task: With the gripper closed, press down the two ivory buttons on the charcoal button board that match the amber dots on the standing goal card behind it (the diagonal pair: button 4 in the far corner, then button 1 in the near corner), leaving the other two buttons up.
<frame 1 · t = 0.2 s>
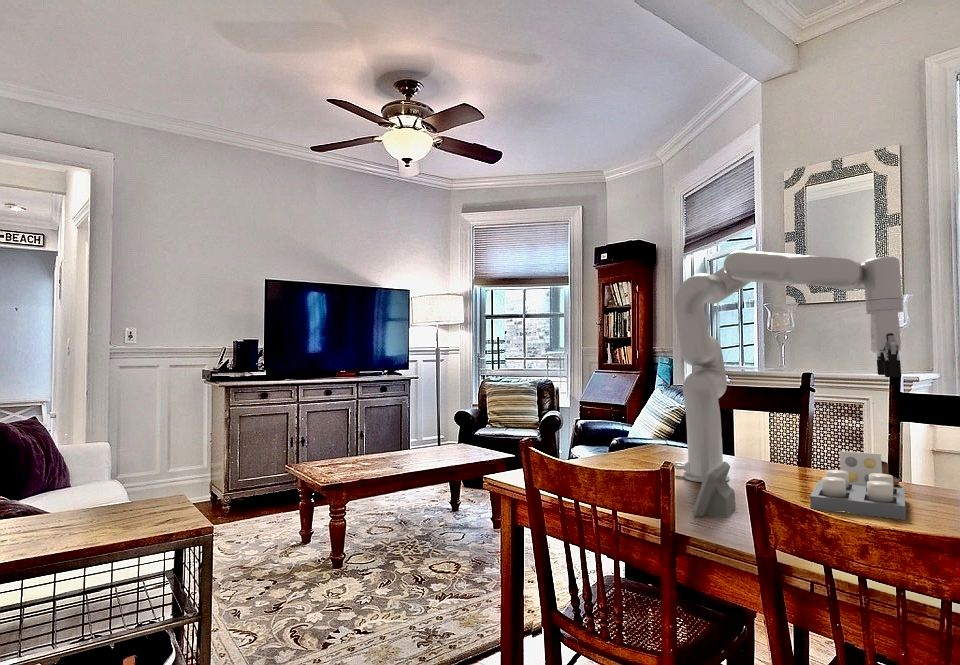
hand: (889, 375, 142), 30 cm above the table, tool pointing down, fingers open, 9 cm apart
button board: (858, 504, 137), on the table
button 4: (881, 482, 138), point 5 cm above the table, slide at 0.0 cm
cup and saucer: (872, 485, 155), on the table
button 3: (879, 491, 131), point 5 cm above the table, slide at 0.0 cm
goal card: (861, 491, 148), on the table
button 2: (837, 478, 143), point 5 cm above the table, slide at 0.0 cm
button 1: (833, 486, 136), point 5 cm above the table, slide at 0.0 cm
grey slanted panel stand: (712, 511, 137), on the table
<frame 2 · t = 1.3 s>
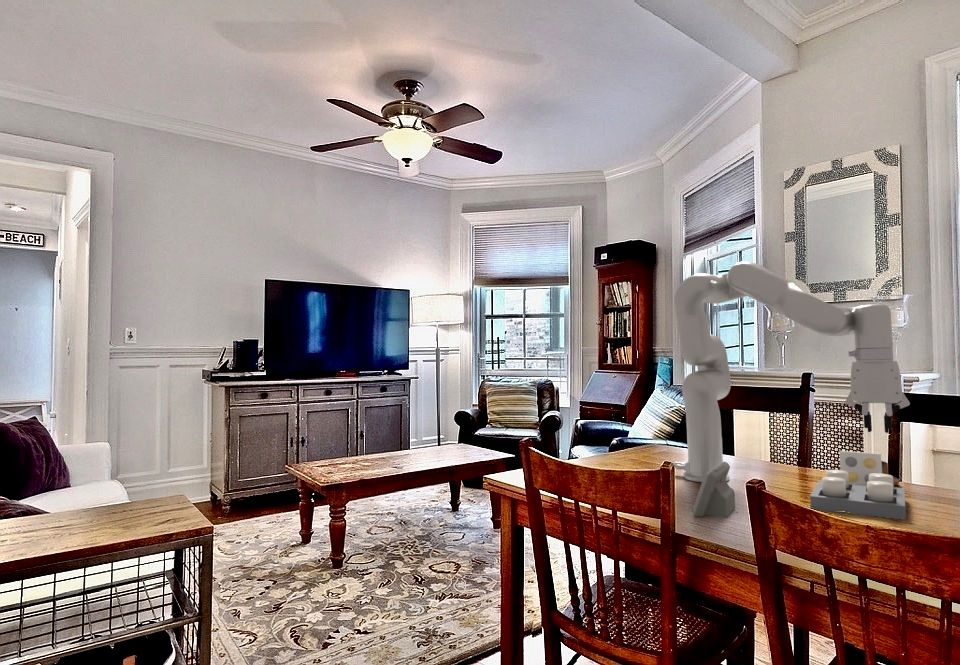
hand: (878, 431, 138), 17 cm above the table, tool pointing down, fingers closed
nothing on the table moved.
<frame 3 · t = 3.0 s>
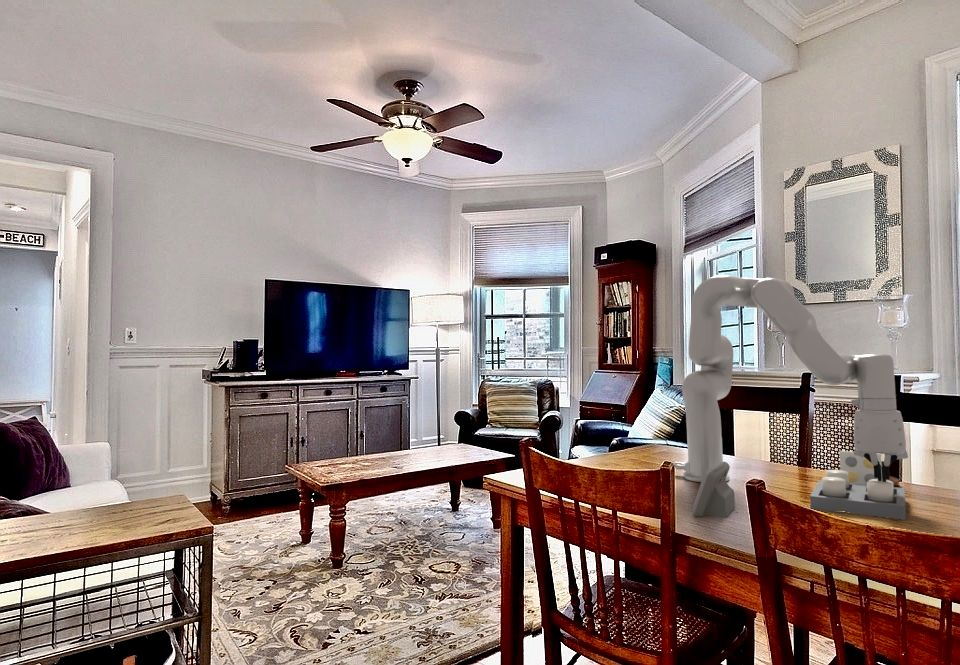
hand: (882, 481, 138), 5 cm above the table, tool pointing down, fingers closed
button 4: (881, 488, 138), point 3 cm above the table, slide at 1.4 cm, touching gripper
everything else where it was.
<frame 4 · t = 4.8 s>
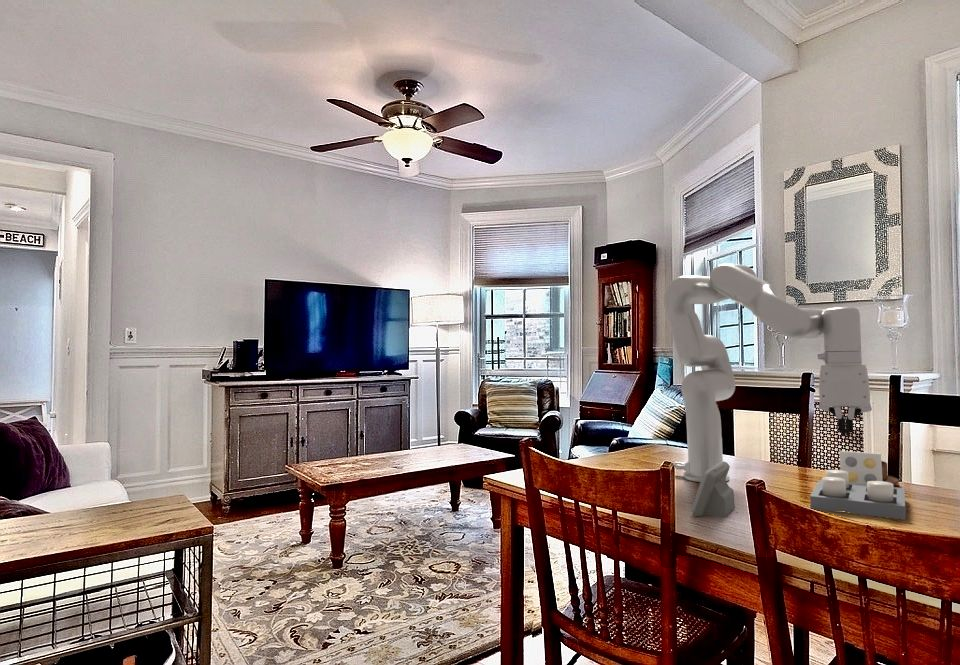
hand: (845, 435, 137), 17 cm above the table, tool pointing down, fingers closed
button 4: (881, 490, 138), point 3 cm above the table, slide at 1.9 cm
everything else where it was.
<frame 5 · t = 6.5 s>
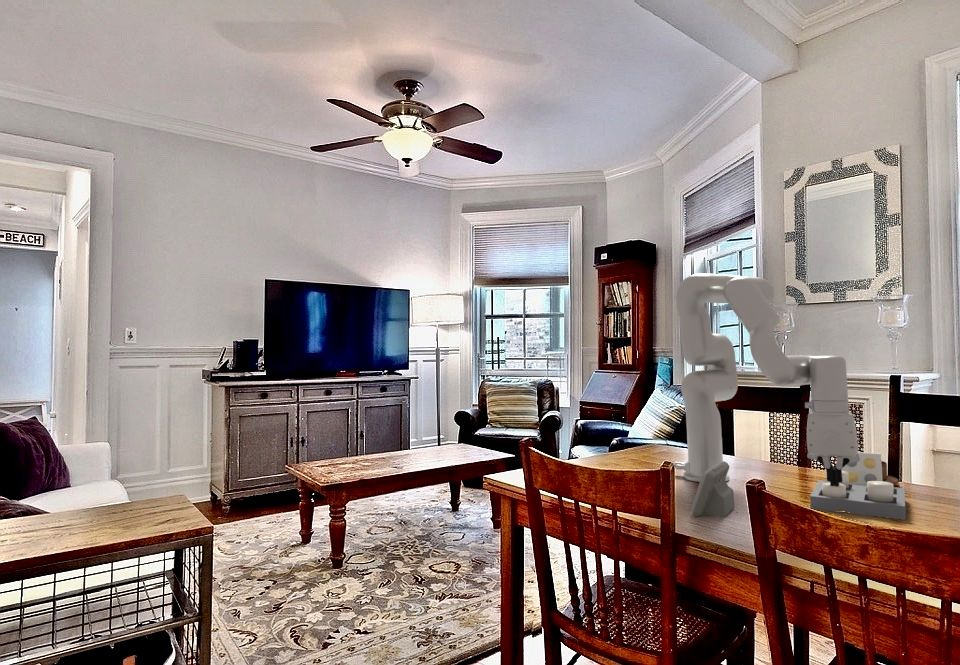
hand: (834, 484, 136), 5 cm above the table, tool pointing down, fingers closed
button 1: (834, 492, 136), point 3 cm above the table, slide at 1.3 cm, touching gripper
everything else where it was.
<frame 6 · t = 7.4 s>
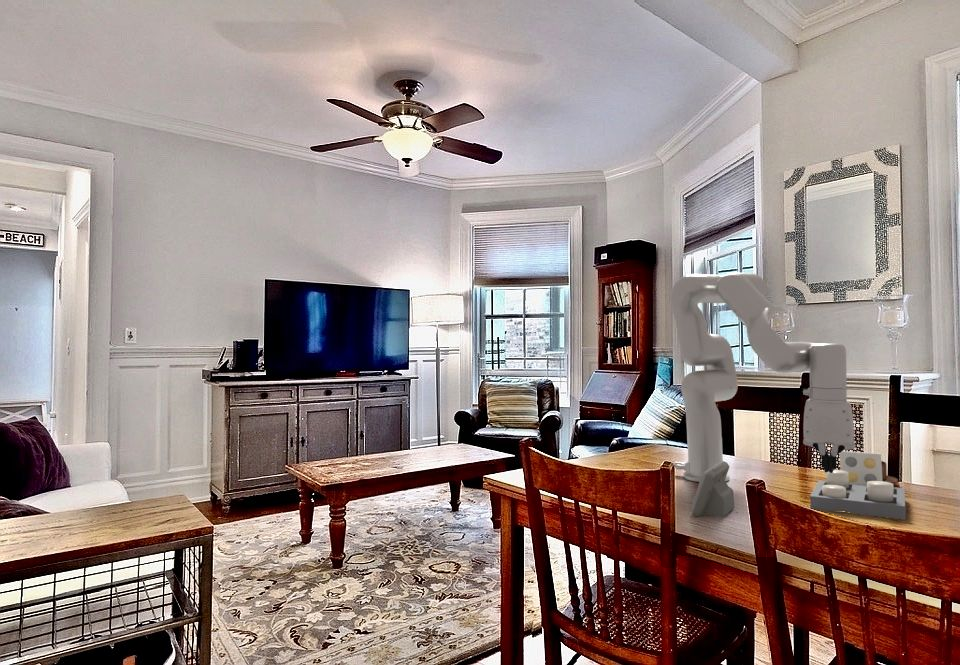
hand: (829, 471, 137), 8 cm above the table, tool pointing down, fingers closed
button 1: (834, 494, 136), point 3 cm above the table, slide at 1.9 cm
everything else where it was.
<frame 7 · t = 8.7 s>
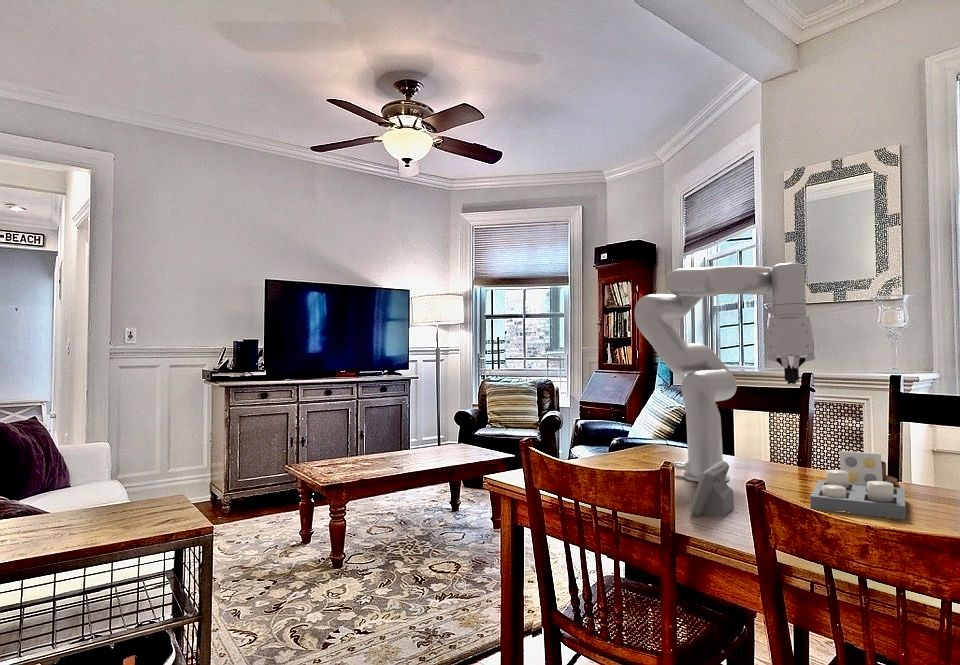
hand: (792, 383, 146), 29 cm above the table, tool pointing down, fingers closed
nothing on the table moved.
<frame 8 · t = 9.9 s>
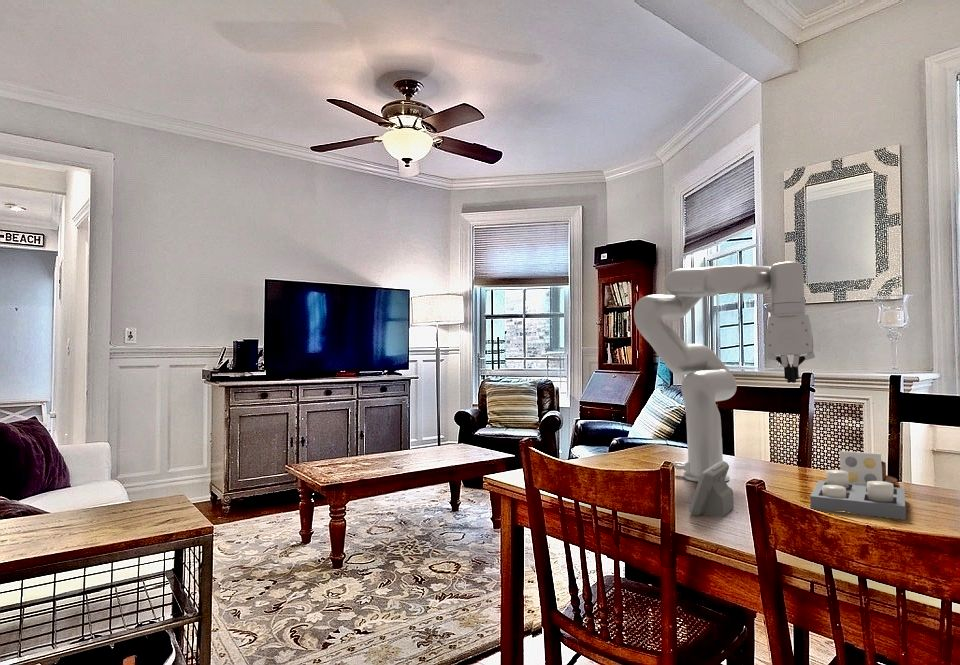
hand: (791, 382, 146), 29 cm above the table, tool pointing down, fingers closed
nothing on the table moved.
at the end: button 1 slide at 1.9 cm; button 4 slide at 1.9 cm; button 2 slide at 0.0 cm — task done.
